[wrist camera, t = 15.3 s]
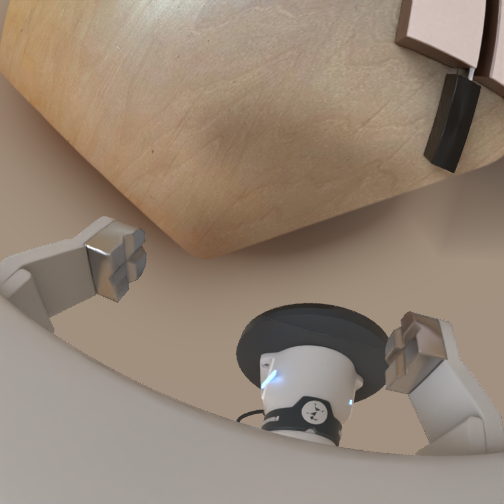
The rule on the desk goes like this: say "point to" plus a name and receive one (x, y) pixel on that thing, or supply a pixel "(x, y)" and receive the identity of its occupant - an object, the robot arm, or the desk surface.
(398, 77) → the desk surface
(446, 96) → the knife
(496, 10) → the cake
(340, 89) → the desk surface
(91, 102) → the desk surface
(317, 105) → the desk surface
